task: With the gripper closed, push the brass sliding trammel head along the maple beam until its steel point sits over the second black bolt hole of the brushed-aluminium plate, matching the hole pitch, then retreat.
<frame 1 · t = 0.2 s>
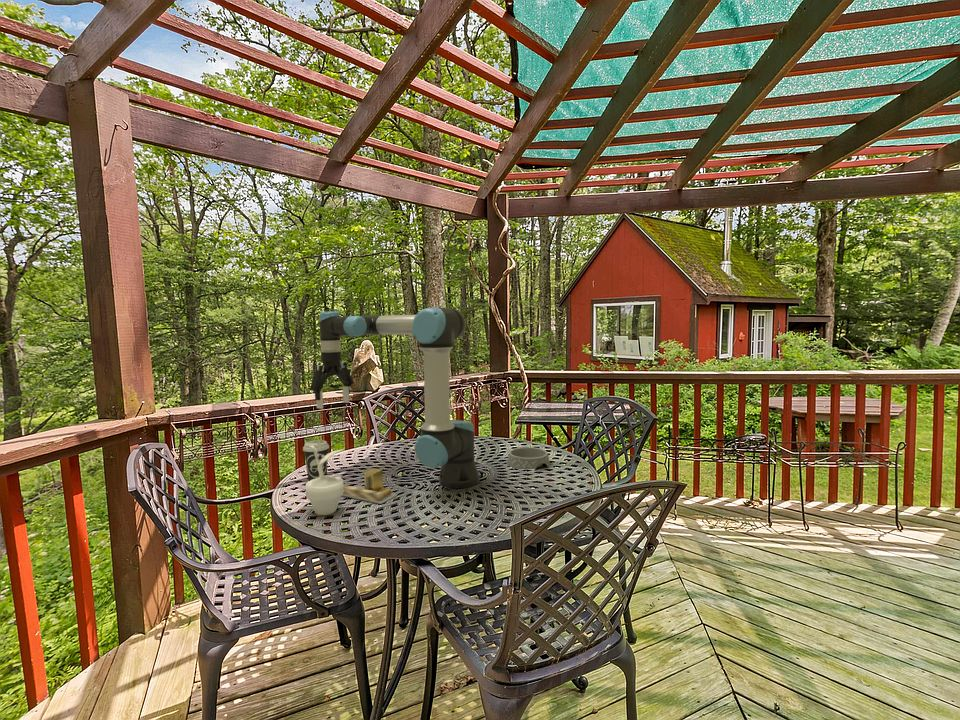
hand: (333, 405, 189), 28 cm above the table, fingers open, 13 cm apart
sliding head: (373, 482, 167), point 5 cm above the table, slide at 0.0 cm
coffee cup: (317, 482, 183), on the table
bolt plate: (369, 496, 168), on the table
dog bowl: (528, 465, 200), on the table
potted plant: (327, 512, 155), on the table
dividers beam: (366, 490, 167), on the bolt plate, point 2 cm above the table
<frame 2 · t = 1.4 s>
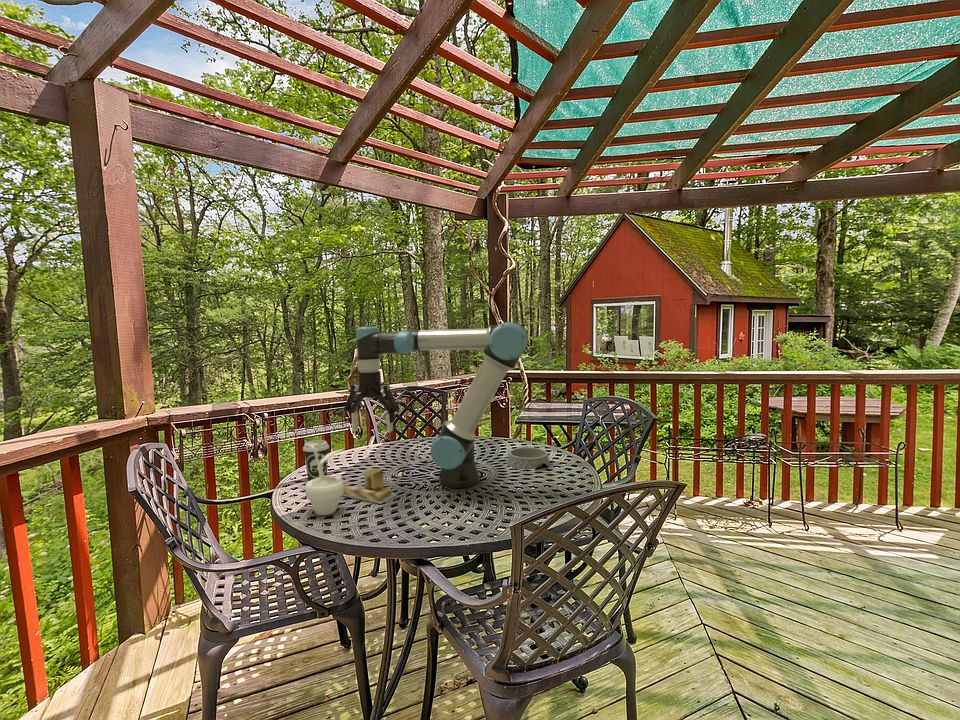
hand: (372, 431, 170), 22 cm above the table, fingers open, 13 cm apart
nothing on the table moved.
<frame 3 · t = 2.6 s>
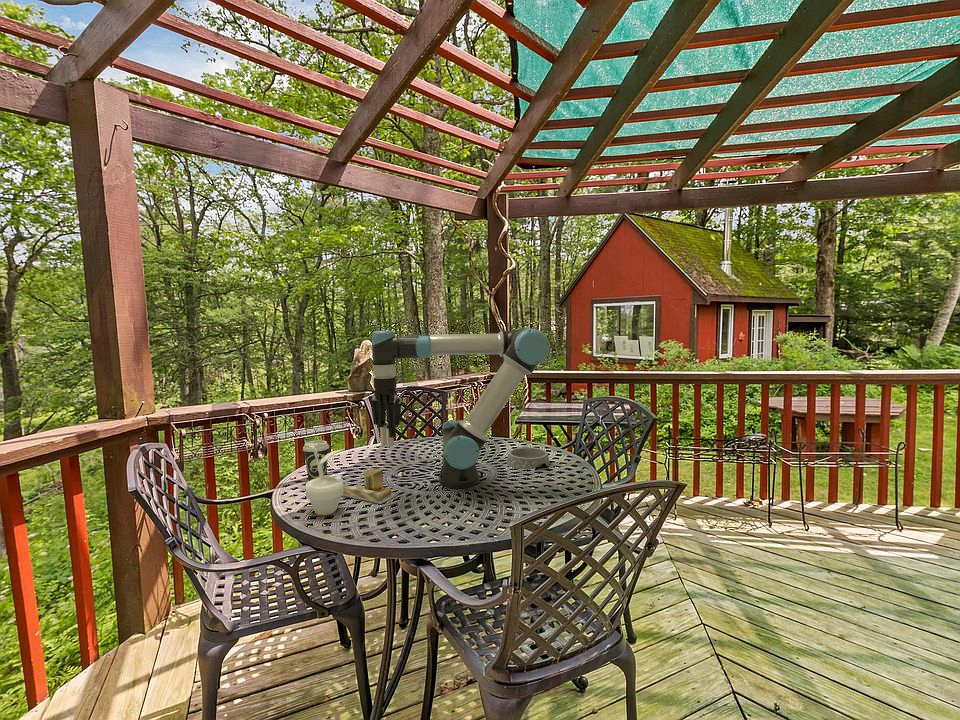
hand: (387, 445, 163), 18 cm above the table, fingers closed
nothing on the table moved.
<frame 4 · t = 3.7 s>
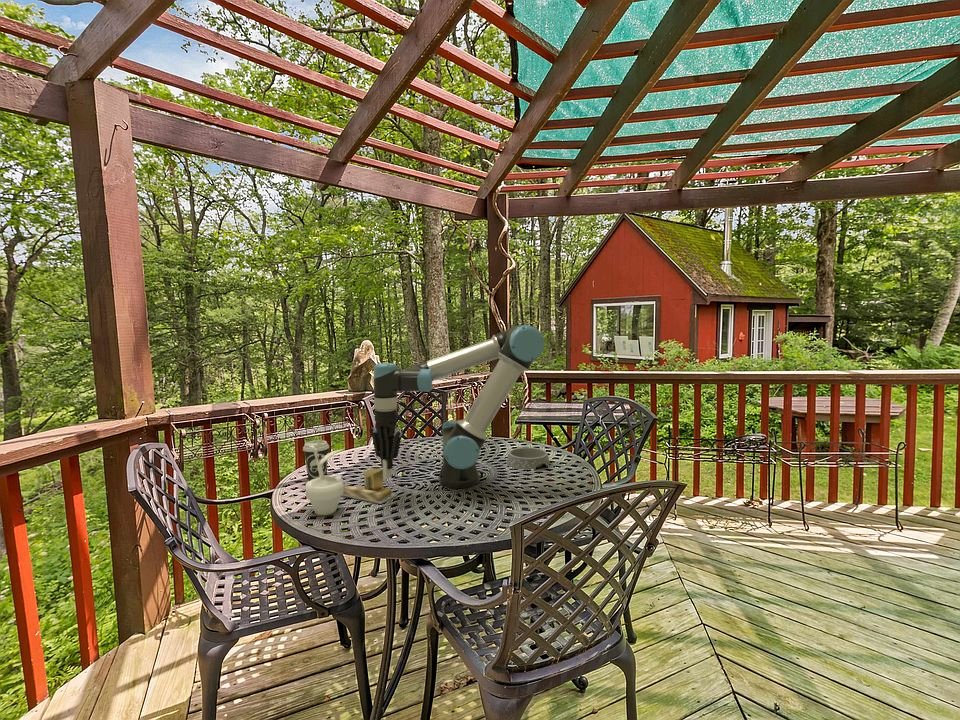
hand: (387, 477, 164), 7 cm above the table, fingers closed
nothing on the table moved.
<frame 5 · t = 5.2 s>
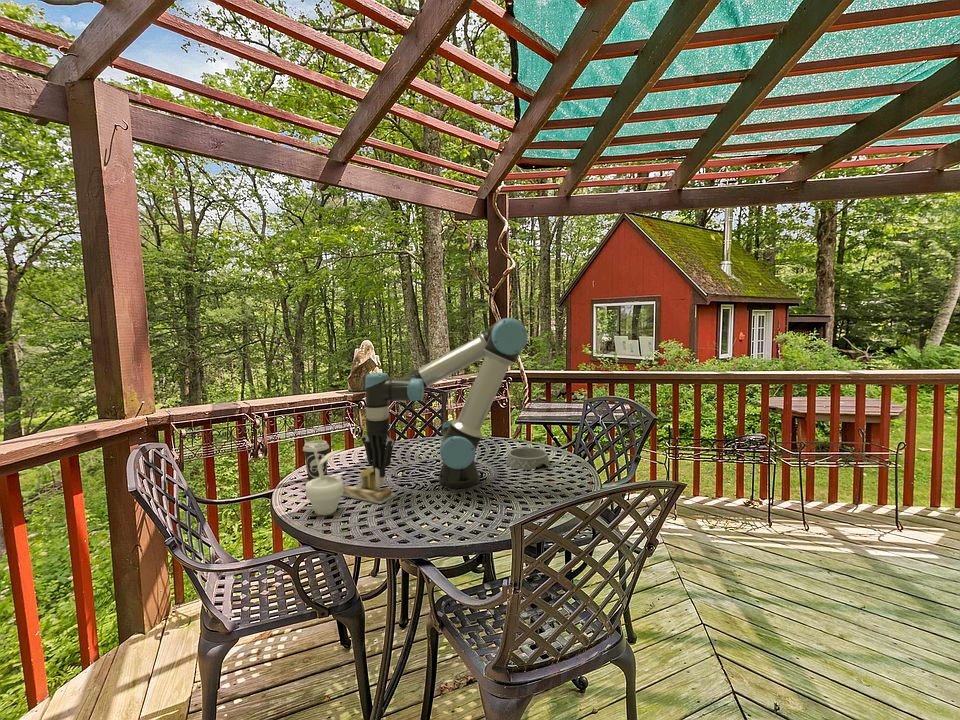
hand: (379, 485, 166), 4 cm above the table, fingers closed
sliding head: (369, 481, 168), point 5 cm above the table, slide at 1.6 cm, touching gripper
everything else where it was.
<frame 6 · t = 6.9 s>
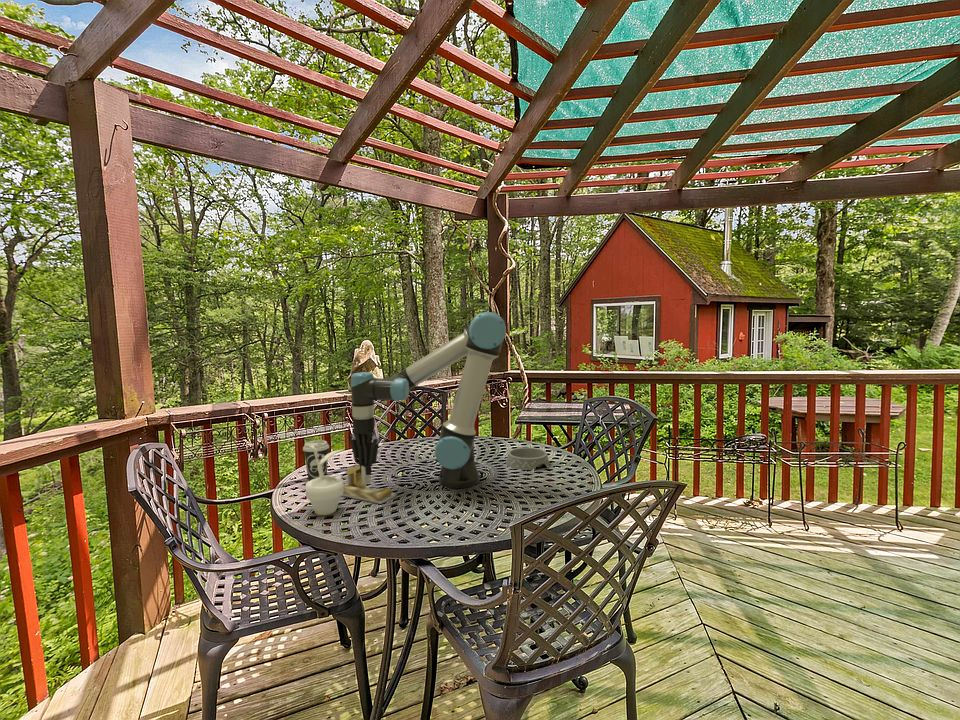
hand: (366, 483, 169), 4 cm above the table, fingers closed
sliding head: (355, 478, 171), point 5 cm above the table, slide at 7.9 cm, touching gripper
everything else where it was.
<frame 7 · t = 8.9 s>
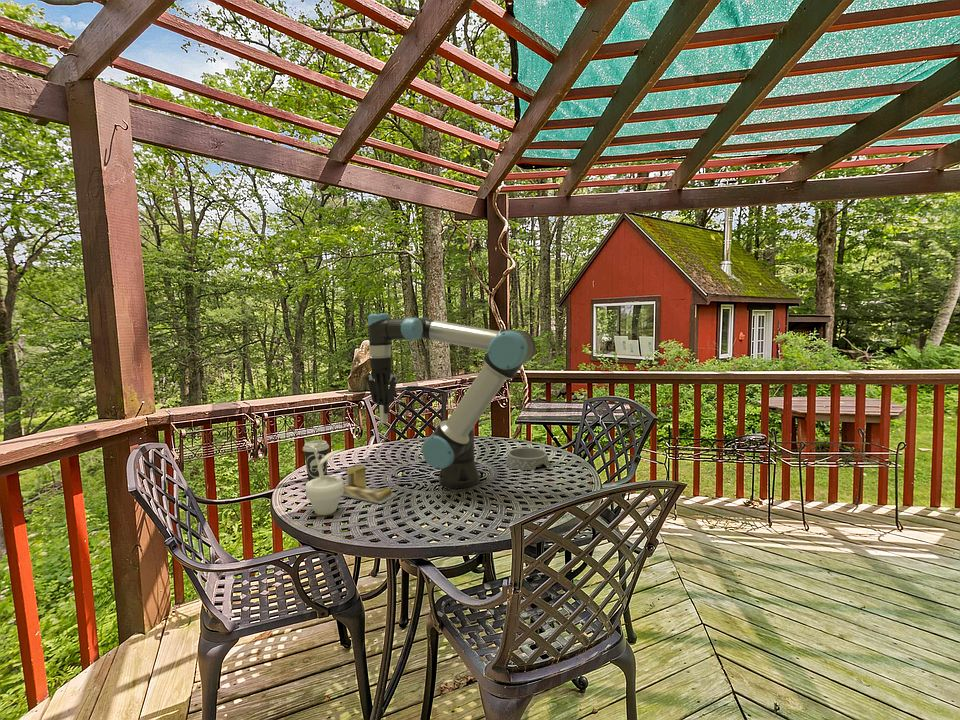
hand: (384, 422, 173), 24 cm above the table, fingers closed
sliding head: (355, 478, 171), point 5 cm above the table, slide at 7.9 cm
everything else where it was.
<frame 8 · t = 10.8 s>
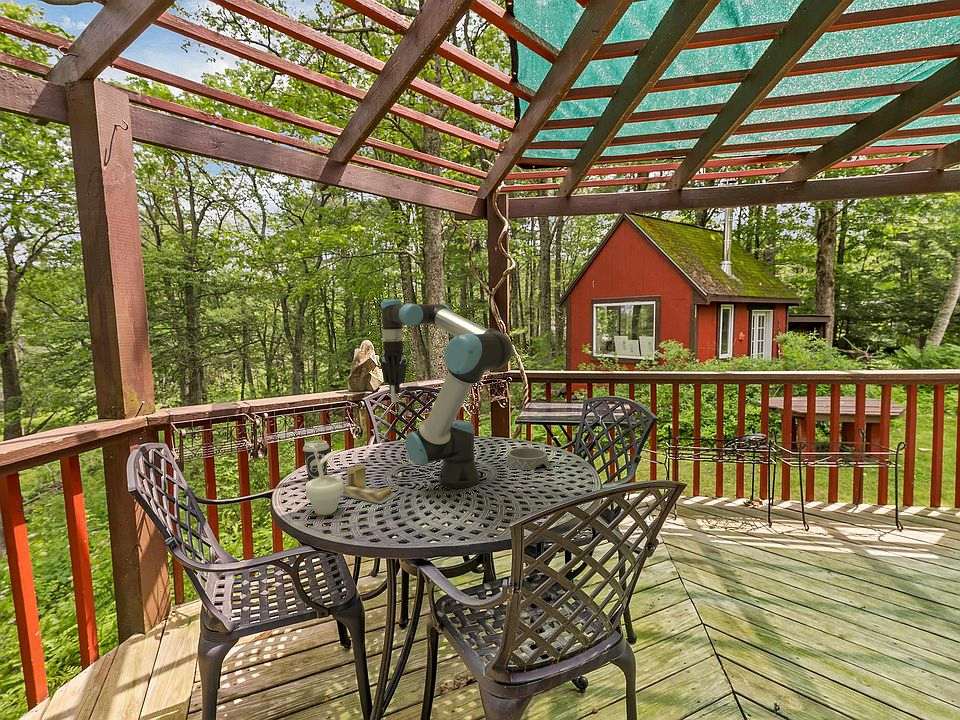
hand: (395, 401, 185), 29 cm above the table, fingers closed
nothing on the table moved.
at the end: sliding head slide at 7.9 cm; sliding head 0.9 cm from the target spot, resting on bolt plate; the gripper is holding nothing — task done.
